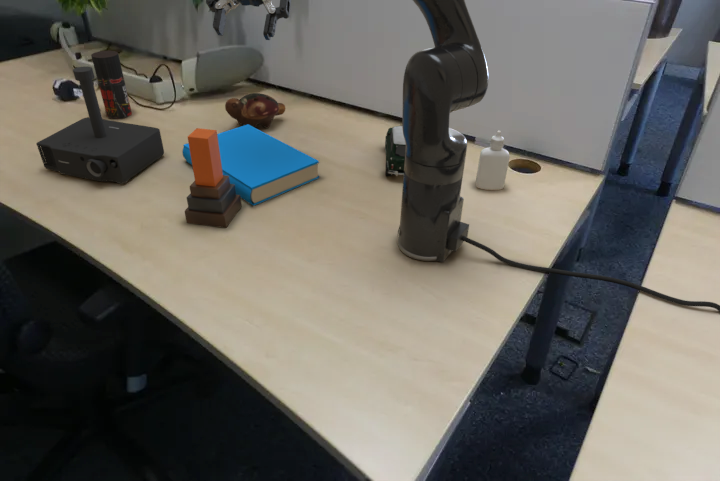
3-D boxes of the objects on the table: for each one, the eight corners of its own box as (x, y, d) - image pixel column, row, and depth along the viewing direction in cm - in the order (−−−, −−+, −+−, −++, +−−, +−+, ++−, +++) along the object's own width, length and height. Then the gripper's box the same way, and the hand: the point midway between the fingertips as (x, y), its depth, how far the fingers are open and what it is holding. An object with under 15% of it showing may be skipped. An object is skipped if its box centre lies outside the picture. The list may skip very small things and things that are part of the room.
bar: (223, 177, 98) (216, 130, 92) (215, 186, 95) (207, 138, 89) (204, 175, 98) (196, 128, 93) (195, 184, 95) (187, 136, 90)
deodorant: (107, 111, 139) (92, 51, 131) (132, 109, 141) (118, 49, 132) (106, 120, 135) (90, 58, 126) (131, 117, 136) (117, 56, 128)
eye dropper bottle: (481, 178, 114) (490, 124, 107) (506, 186, 111) (517, 131, 104) (472, 186, 111) (480, 131, 104) (498, 194, 108) (508, 138, 101)
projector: (37, 175, 111) (2, 78, 100) (93, 142, 124) (68, 53, 113) (117, 190, 107) (91, 90, 95) (167, 155, 120) (148, 63, 108)
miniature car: (423, 145, 126) (426, 112, 122) (429, 183, 112) (433, 147, 107) (384, 144, 126) (386, 111, 122) (385, 182, 112) (387, 146, 107)
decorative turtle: (219, 126, 133) (215, 94, 129) (272, 116, 141) (271, 85, 137) (239, 138, 126) (236, 104, 122) (293, 126, 135) (292, 94, 131)
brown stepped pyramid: (241, 206, 103) (237, 173, 99) (226, 227, 97) (221, 193, 93) (204, 201, 104) (198, 168, 100) (186, 222, 98) (180, 188, 94)
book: (247, 123, 125) (319, 158, 110) (249, 141, 127) (320, 177, 113) (179, 145, 115) (249, 187, 100) (183, 164, 117) (252, 207, 103)
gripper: (212, -69, 93) (194, 20, 91) (293, -63, 91) (277, 27, 89) (226, -40, 100) (210, 43, 98) (302, -34, 99) (287, 50, 96)
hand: (242, 35), depth 93 cm, fingers open, 8 cm apart
